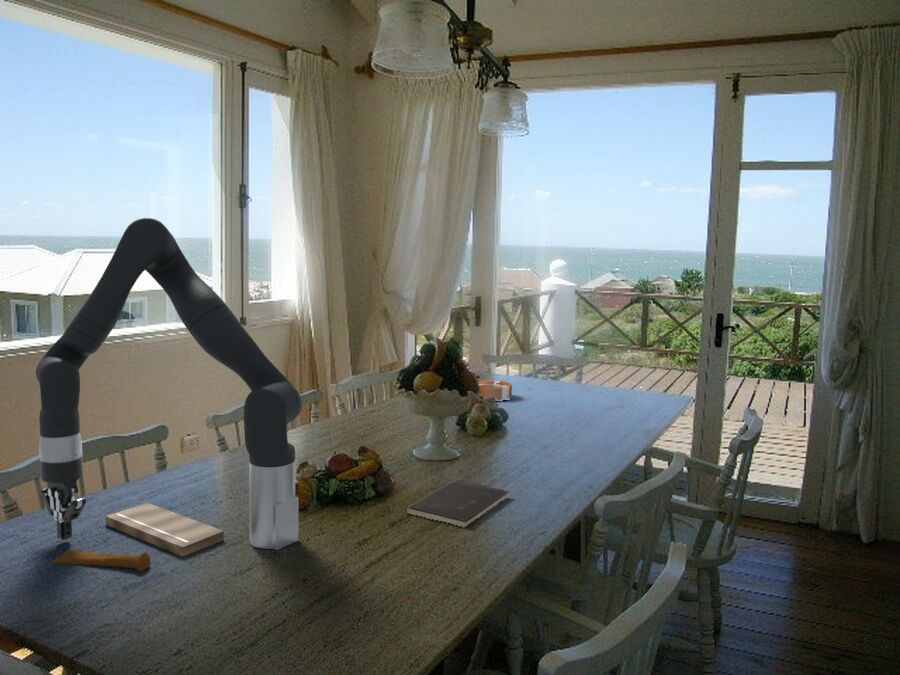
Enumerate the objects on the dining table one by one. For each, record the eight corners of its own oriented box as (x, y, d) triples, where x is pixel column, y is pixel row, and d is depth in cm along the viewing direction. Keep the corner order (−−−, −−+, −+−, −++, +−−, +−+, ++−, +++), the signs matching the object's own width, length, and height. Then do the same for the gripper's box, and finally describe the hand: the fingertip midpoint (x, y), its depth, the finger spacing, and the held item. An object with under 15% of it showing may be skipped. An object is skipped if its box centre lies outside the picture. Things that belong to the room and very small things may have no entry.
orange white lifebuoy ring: (468, 397, 294) (494, 393, 303) (493, 404, 282) (519, 399, 292) (468, 380, 293) (494, 376, 302) (494, 387, 281) (520, 383, 291)
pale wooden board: (223, 540, 150) (223, 530, 149) (182, 556, 141) (182, 546, 141) (147, 511, 164) (147, 502, 163) (105, 524, 155) (105, 515, 155)
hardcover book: (508, 500, 180) (509, 491, 180) (465, 530, 160) (466, 520, 160) (452, 487, 188) (453, 479, 187) (405, 515, 168) (405, 506, 167)
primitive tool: (50, 564, 137) (49, 547, 137) (69, 552, 143) (69, 535, 142) (141, 576, 134) (141, 558, 134) (158, 563, 139) (158, 546, 139)
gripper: (98, 457, 143) (101, 540, 146) (61, 445, 150) (65, 524, 153) (60, 466, 137) (64, 552, 139) (24, 453, 144) (28, 535, 146)
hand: (64, 537), depth 146 cm, fingers closed
